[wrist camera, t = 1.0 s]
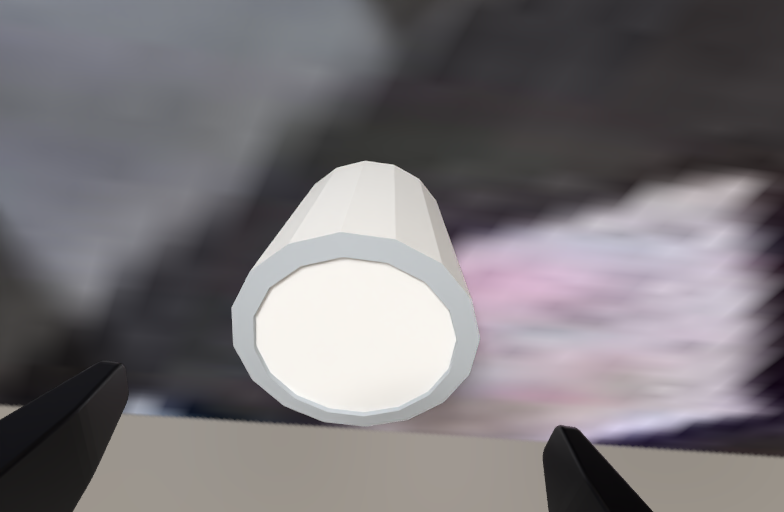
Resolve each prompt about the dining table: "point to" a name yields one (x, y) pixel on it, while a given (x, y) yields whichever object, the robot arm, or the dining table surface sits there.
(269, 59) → the dining table surface
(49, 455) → the robot arm
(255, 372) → the shot glass
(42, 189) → the dining table surface
